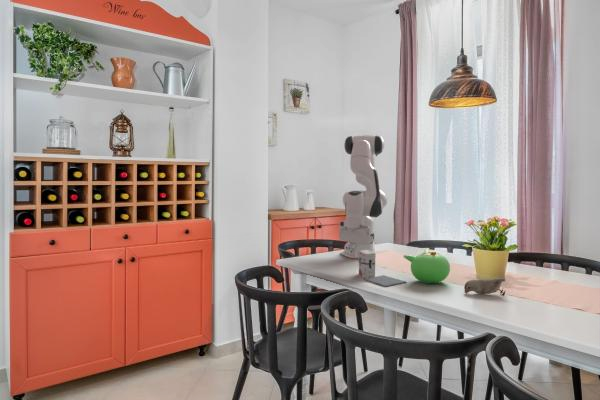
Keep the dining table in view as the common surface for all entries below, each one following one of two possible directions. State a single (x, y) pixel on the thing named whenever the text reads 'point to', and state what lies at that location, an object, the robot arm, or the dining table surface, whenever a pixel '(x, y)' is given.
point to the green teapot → (429, 267)
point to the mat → (384, 281)
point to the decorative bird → (484, 286)
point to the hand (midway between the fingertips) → (354, 251)
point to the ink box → (367, 263)
